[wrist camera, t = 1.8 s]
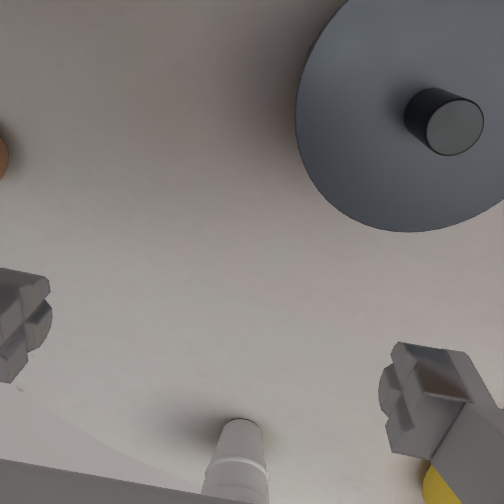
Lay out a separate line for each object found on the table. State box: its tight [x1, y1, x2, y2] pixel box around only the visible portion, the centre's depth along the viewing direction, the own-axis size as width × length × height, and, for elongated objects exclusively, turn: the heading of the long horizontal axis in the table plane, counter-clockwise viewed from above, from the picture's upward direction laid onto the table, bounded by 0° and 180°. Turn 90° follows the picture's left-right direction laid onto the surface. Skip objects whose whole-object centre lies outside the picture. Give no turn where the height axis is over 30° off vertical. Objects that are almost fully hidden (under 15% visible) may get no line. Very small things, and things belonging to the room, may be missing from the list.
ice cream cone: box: [201, 419, 269, 504], centre depth 39 cm, size 8×8×16 cm
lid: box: [295, 0, 504, 232], centre depth 19 cm, size 13×13×5 cm
